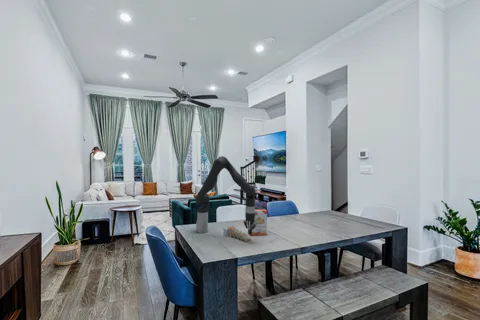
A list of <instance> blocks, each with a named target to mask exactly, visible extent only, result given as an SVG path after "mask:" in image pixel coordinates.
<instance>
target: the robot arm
mask: <svg viewBox="0 0 480 320" xmlns="http://www.w3.org/2000/svg"><path fill="white" fill-rule="evenodd" d="M223 169H226V171H228V172H229V175H230V176H231V179H232V180H233V182H234V183H235V184H236V185H238V187H240V188H241V190H242V191H243V192H244V193H245V194H246V200H245V209H244V211H245V213H244V217H245V220H244V221H243V225H244V227H245V228H246V229H247V234H248V236H251V234H252V229H254V228H255V227H256V225H257V223H255V220H254V219H255V210H256V205H255V204H256V201H255V200H256V188H255V186H253V185H251V184H249V182H248V181H247V180H246V179H245V178H244V177H243V176H242V175H241V174H240V173H239V172H238V171H237V169H236V168H235V167H234V166H233V164H232V163H231V162H230V161H229V160H228V158H226V156H222V155H221V156H219V157H217V158H216V159H215V160H214V161H213V163H212V166H211V169H210V171H209V173H208V174H207V176H206V178H205V180H204V182H203V184H202V186H201V188H200V189H199V191H198V192H197V194H196V195H195V203H196V204H197V205H201V206H200V207H198V208H197V210H196V211H197V220H196V223H195V224H196V226H195V228H196V229H195V231H196V233H198V234H205V233H208V231H209V209H210V208H209V207H210V196H209V194H208V193H210V192H211V191H212V190H213V189H214V188H215V186H216V185H217V182H218V179H219V178H218V177H219V174H220V173H221V172H222V170H223Z"/></svg>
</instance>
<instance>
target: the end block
mask: <svg viewBox="0 0 480 320" xmlns="http://www.w3.org/2000/svg"><path fill="white" fill-rule="evenodd" d="M222 231H223V232H222V233H223V234H222V236H223V237H226V238H227V237H229V236H230V234H229V230H228V227H224V228H223V229H222Z"/></svg>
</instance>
